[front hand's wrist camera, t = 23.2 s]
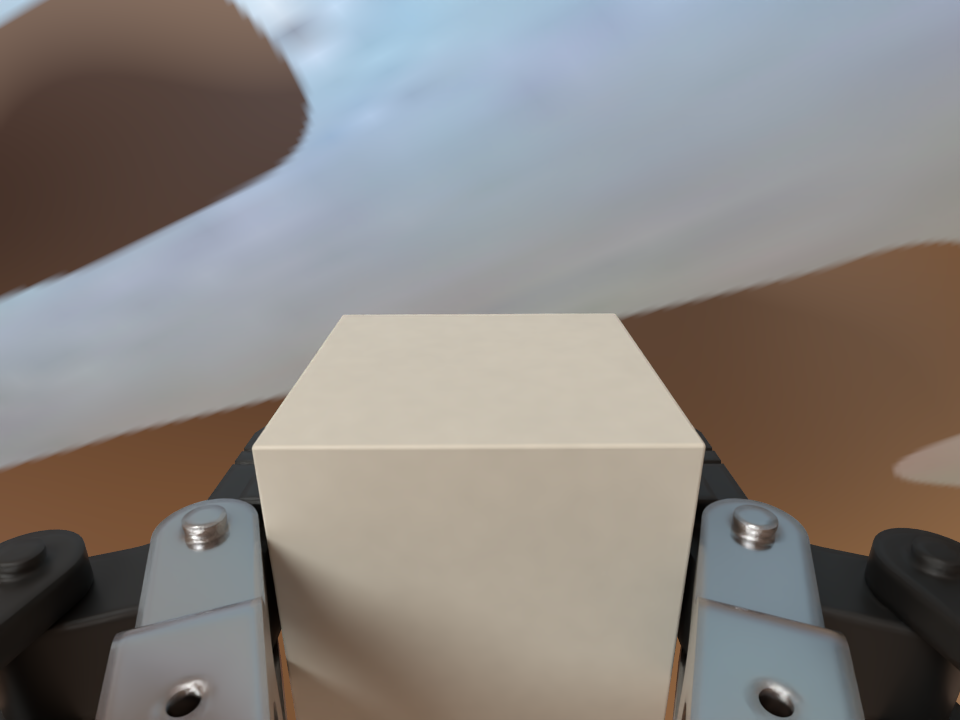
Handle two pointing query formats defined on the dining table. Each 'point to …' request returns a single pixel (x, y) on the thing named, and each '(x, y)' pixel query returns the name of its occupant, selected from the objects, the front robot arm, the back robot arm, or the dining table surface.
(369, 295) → the dining table surface
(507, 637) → the block
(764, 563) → the front robot arm
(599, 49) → the dining table surface
